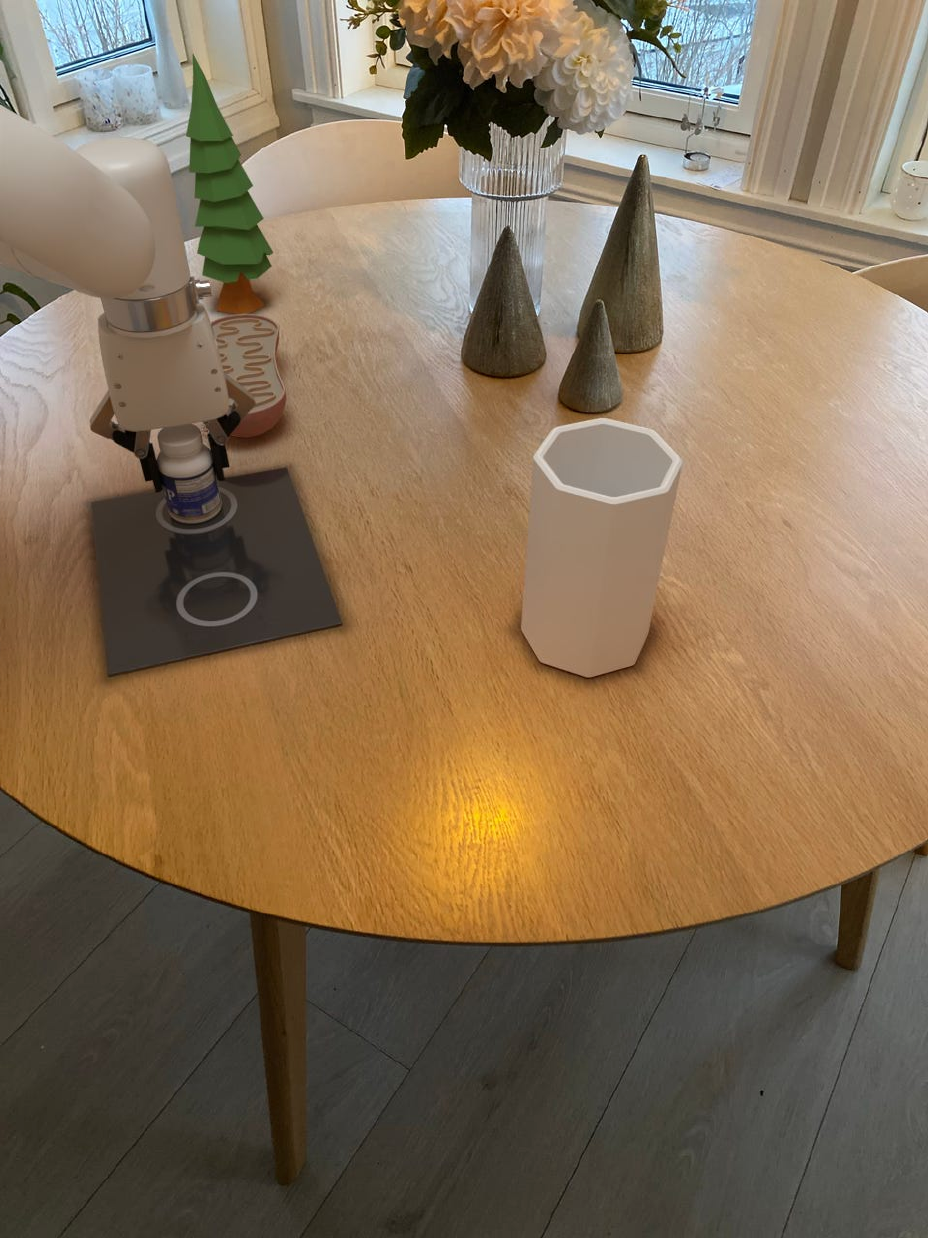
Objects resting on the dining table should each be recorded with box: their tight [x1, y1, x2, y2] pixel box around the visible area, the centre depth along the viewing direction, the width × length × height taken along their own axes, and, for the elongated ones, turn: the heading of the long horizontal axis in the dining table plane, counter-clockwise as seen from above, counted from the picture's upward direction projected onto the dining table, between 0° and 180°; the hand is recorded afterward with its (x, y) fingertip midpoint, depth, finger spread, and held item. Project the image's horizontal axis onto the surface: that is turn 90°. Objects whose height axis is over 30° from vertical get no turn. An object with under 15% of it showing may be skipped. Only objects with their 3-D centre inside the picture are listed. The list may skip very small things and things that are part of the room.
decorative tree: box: [185, 52, 274, 315], centre depth 119 cm, size 10×9×30 cm
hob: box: [90, 466, 343, 677], centre depth 91 cm, size 20×25×1 cm
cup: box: [520, 417, 684, 678], centre depth 78 cm, size 11×11×18 cm
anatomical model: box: [210, 313, 287, 438], centre depth 110 cm, size 23×10×5 cm, turn 11°
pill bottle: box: [156, 423, 222, 524], centre depth 93 cm, size 5×5×9 cm
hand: (188, 477), depth 93 cm, fingers closed on pill bottle, 5 cm apart
